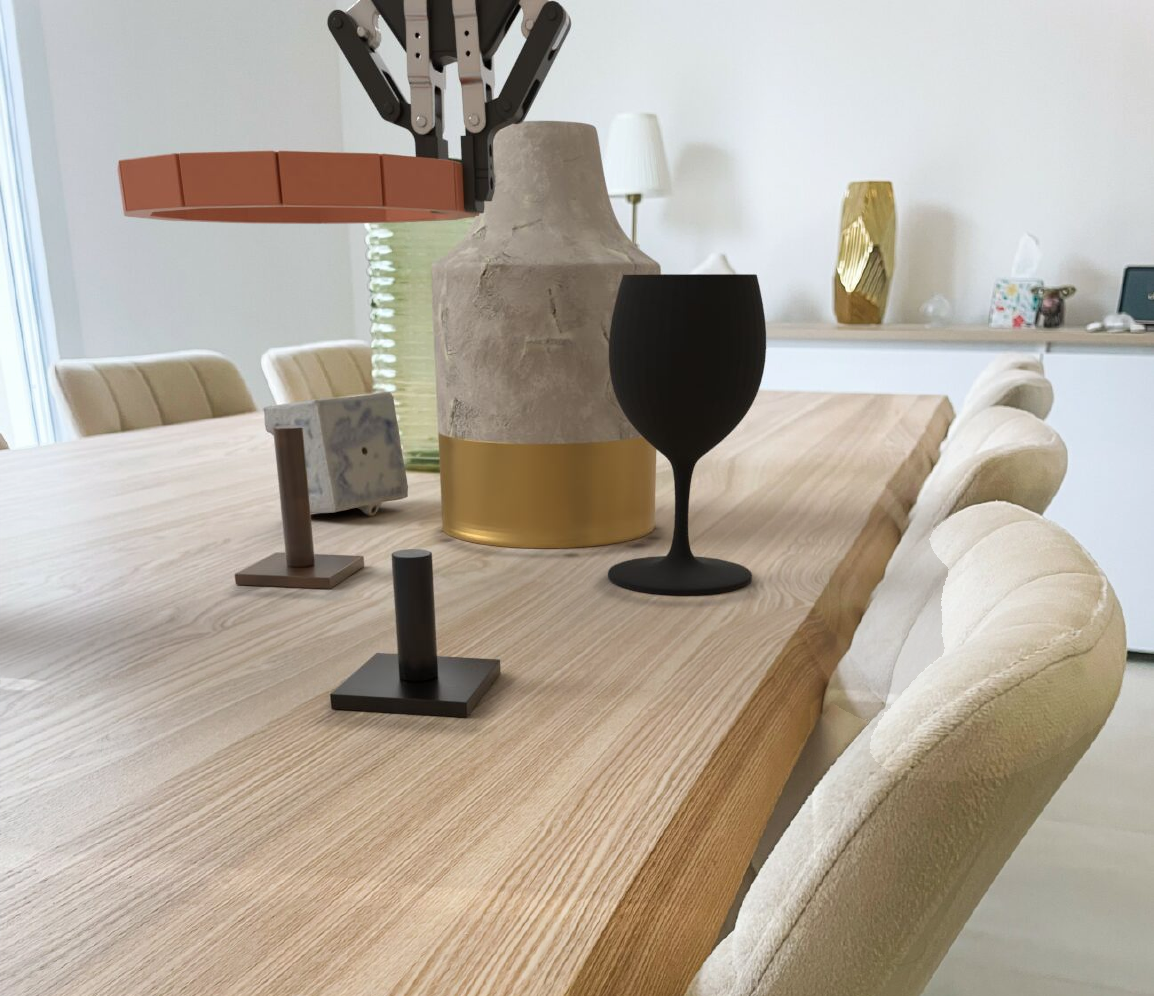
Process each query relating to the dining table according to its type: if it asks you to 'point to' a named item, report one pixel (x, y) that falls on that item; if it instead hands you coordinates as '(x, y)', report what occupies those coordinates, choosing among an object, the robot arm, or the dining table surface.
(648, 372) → the wine glass
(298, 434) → the walnut post
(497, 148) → the vase
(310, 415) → the incense holder
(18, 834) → the dining table surface
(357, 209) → the ring
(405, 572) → the metal post
